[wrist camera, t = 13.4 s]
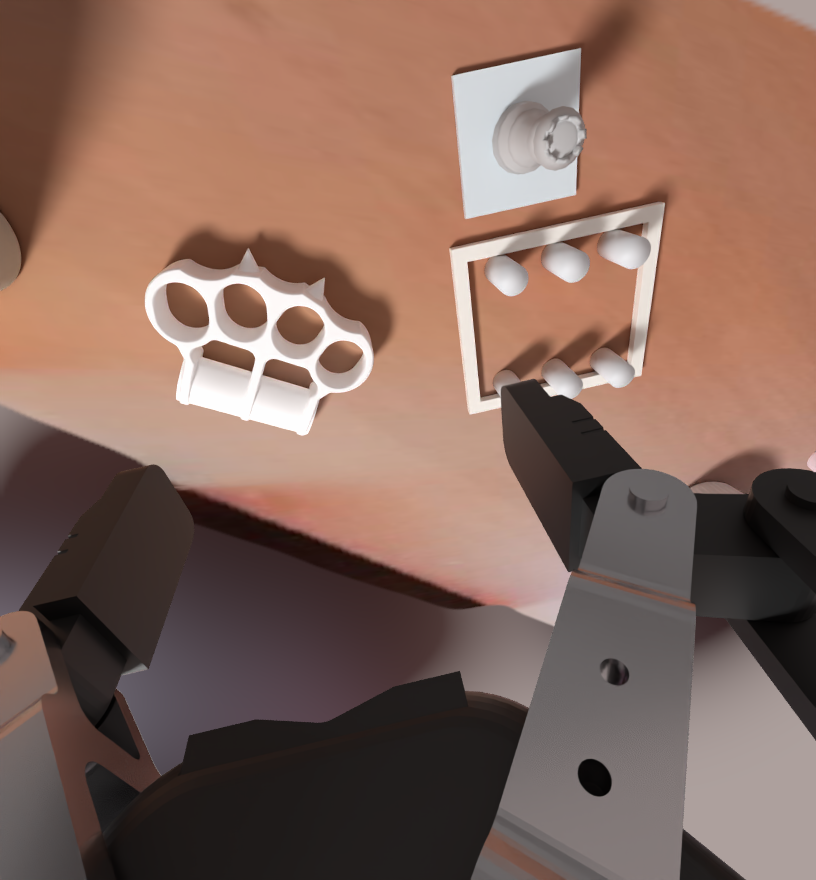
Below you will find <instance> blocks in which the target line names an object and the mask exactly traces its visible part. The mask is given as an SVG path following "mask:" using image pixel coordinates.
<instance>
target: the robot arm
mask: <svg viewBox="0 0 816 880" xmlns="http://www.w3.org/2000/svg"><path fill="white" fill-rule="evenodd" d="M501 410H502V426H503V441H504V448H505V452H506V456H507V459H508V462H509V464H510V466H511V468H512V470H513V472H514V474H515V476H516V477H517V479H518V481H519V483H520V485H521V487H522V488H523V490H524V492H525V494H526V496H527V498H528V499H529V501H530V503H531V505H532V507H533V509H534V510H535V512H536V514H537V516H538V518H539V520H540V521H541V523H542V525H543V527H544V529H545V531H546V532H547V534H548V536H549V538H550V540H551V541H552V543H553V545H554V547H555V549H556V551H557V552H558V554H559V556H560V558H561V560H562V562H563V563H564V565H565V567H566V569H567V571H568V572H571V571H572V573H571V575H570V578H569V581H568V584H567V587H566V590H565V593H564V597H563V600H562V603H561V606H560V610H559V613H558V616H557V619H556V623H555V626H554V629H553V632H552V636H551V639H550V642H549V645H548V649H547V652H546V655H545V658H544V662H543V665H542V668H541V671H540V675H539V678H538V681H537V685H536V688H535V691H534V694H533V698H532V701H531V704H530V707H529V708H528V707H526V706H524V705H522V704H520V703H518V702H515V701H513V700H510V699H507V698H504V697H501V696H498V695H494V694H488V693H483V692H473V691H465V690H464V686H463V682H462V678H461V674H460V671H458V672H454V673H450V674H445V675H441V676H437V677H433V678H428V679H424V680H420V681H416V682H412V683H407V684H403V685H399V686H395V687H392V688H391V689H389V690H387V691H385V692H383V693H381V694H379V695H377V696H376V697H374V698H372V699H370V700H368V701H366V702H364V703H362V704H361V705H359V706H357V707H355V708H353V709H351V710H349V711H347V712H346V713H344V714H342V715H340V716H338V717H336V718H334V719H332V720H330V721H328V722H323V723H311V722H292V721H274V720H252V721H248V722H244V723H240V724H235V725H231V726H227V727H223V728H219V729H214V730H210V731H206V732H202V733H198V734H193V735H190V736H189V738H188V742H187V747H186V751H185V755H184V759H183V762H182V763H181V764H179V765H177V766H176V767H174V768H173V769H171V770H170V771H168V772H166V773H165V774H163V775H162V776H161V775H160V773H159V772H158V770H157V769H156V767H155V765H154V763H153V761H152V758H151V756H150V754H149V752H148V749H147V747H146V745H145V743H144V740H143V738H142V736H141V734H140V731H139V729H138V727H137V724H136V722H135V720H134V718H133V715H132V713H131V711H130V709H129V706H128V704H127V702H126V700H125V697H124V696H123V694H122V693H121V692H120V691H119V690H117V689H116V687H117V684H118V681H119V679H120V677H121V676H122V675H126V674H130V673H134V672H139V671H143V670H147V669H149V666H150V663H151V660H152V657H153V654H154V651H155V648H156V646H157V643H158V640H159V637H160V634H161V631H162V628H163V625H164V622H165V619H166V616H167V613H168V610H169V607H170V605H171V601H172V599H173V596H174V593H175V590H176V587H177V584H178V581H179V578H180V575H181V573H182V570H183V567H184V564H185V561H186V558H187V555H188V552H189V549H190V546H191V543H192V540H193V537H194V524H193V519H192V516H191V514H190V512H189V510H188V509H187V507H186V505H185V504H184V502H183V501H182V499H181V497H180V496H179V494H178V493H177V491H176V490H175V488H174V486H173V485H172V483H171V482H170V480H169V478H168V477H167V475H166V474H165V472H164V471H163V470H162V469H161V468H160V467H159V466H157V465H149V466H144V467H140V468H135V469H131V470H127V471H122V472H119V473H118V474H116V476H115V477H114V479H113V480H112V482H111V483H110V485H109V487H108V488H107V490H106V491H105V493H104V495H103V496H102V498H101V499H100V500H98V501H97V502H96V503H95V504H94V505H93V506H92V507H91V508H90V509H89V510H87V511H86V512H85V513H84V514H83V515H82V516H81V517H80V518H79V520H78V522H77V523H76V524H75V526H74V527H73V529H72V531H71V532H70V534H69V535H68V537H69V539H66V540H65V541H64V543H63V544H62V546H61V547H60V549H59V550H58V555H56V556H54V558H53V559H52V561H51V562H50V564H49V566H48V567H47V568H46V570H45V572H44V573H43V575H42V576H41V578H40V579H39V581H38V582H37V584H36V585H35V587H34V588H33V590H32V591H31V593H30V594H29V596H28V598H27V599H26V600H25V602H24V603H23V605H22V606H21V608H20V610H19V611H17V612H12V613H8V614H6V615H4V616H0V880H745V879H744V878H743V877H742V876H740V875H739V874H738V873H737V872H736V871H734V870H733V869H732V868H731V867H729V866H728V865H727V864H726V863H725V862H723V861H722V860H721V859H720V858H718V857H717V856H716V855H715V854H714V853H712V852H711V851H710V850H709V849H707V848H706V847H705V846H704V845H702V844H701V843H700V842H699V841H697V840H696V839H695V838H694V837H692V836H691V835H690V834H689V833H688V832H686V831H685V830H684V829H683V816H684V800H685V784H686V768H687V751H688V735H689V720H690V703H691V687H692V672H693V655H694V639H695V622H696V616H704V617H717V618H725V619H726V620H727V621H728V623H729V624H730V625H731V627H732V628H733V629H734V631H735V632H736V633H737V635H738V636H739V637H740V639H741V640H742V642H743V643H744V644H745V646H746V647H747V648H748V650H749V651H750V652H751V654H752V655H753V656H754V658H755V659H756V660H757V662H758V663H759V664H760V666H761V667H762V669H763V670H764V671H765V673H766V674H767V675H768V677H769V678H770V679H771V681H772V682H773V683H774V685H775V686H776V687H777V689H778V690H779V691H780V693H781V694H782V695H783V697H784V698H785V700H786V701H787V702H788V704H789V705H790V706H791V708H792V709H793V710H794V712H795V713H796V714H797V716H798V717H799V718H800V720H801V721H802V722H803V724H804V725H805V727H806V728H807V729H808V731H809V732H810V733H811V735H812V736H813V737H814V739H815V740H816V472H813V471H809V470H802V469H791V468H787V469H774V470H770V471H767V472H764V473H762V474H760V475H759V476H758V477H756V479H755V480H754V481H753V484H752V487H751V490H750V493H749V494H703V493H693V492H692V490H691V489H690V488H689V487H688V486H687V485H686V484H685V483H683V482H682V481H681V480H679V479H677V478H675V477H673V476H671V475H669V474H666V473H663V472H660V471H655V470H649V469H642V468H641V467H640V466H639V465H638V464H637V463H636V462H635V461H634V460H633V459H632V458H631V457H630V455H629V454H628V453H627V452H626V451H625V450H624V449H623V448H622V447H621V446H620V445H619V444H618V443H617V442H616V441H615V440H614V438H613V437H612V436H611V435H610V434H609V433H608V432H607V431H606V430H605V431H604V430H603V427H602V426H601V425H600V424H599V422H598V421H597V420H596V419H593V416H592V415H591V414H590V413H589V412H588V411H587V410H586V409H585V408H584V406H583V405H582V404H581V403H578V402H576V401H574V400H572V399H570V398H568V397H566V396H564V395H557V396H553V397H550V396H549V395H548V393H547V392H546V391H545V390H544V389H543V388H542V386H541V385H540V384H539V383H538V382H537V381H536V380H535V379H531V380H527V381H522V382H518V383H513V384H509V385H505V386H502V387H501Z"/></svg>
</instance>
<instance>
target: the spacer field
mask: <svg viewBox="0 0 816 880" xmlns="http://www.w3.org/2000/svg"><path fill="white" fill-rule="evenodd" d="M664 207H665V203H663V202H656V203H651V204H647V205H642V206H638V207H633V208H629V209H624V210H620V211H615V212H610V213H606V214H601V215H597V216H592V217H588V218H583V219H579V220H574V221H570V222H565V223H561V224H556V225H552V226H547V227H543V228H538V229H534V230H529V231H525V232H520V233H515V234H511V235H506V236H502V237H497V238H493V239H488V240H484V241H479V242H475V243H470V244H466V245H461V246H457V247H452V248H449V250H450V258H451V267H452V276H453V284H454V293H455V302H456V310H457V319H458V328H459V336H460V345H461V354H462V362H463V371H464V380H465V388H466V397H467V406H468V412H469V413H470V414H475V413H479V412H483V411H488V410H492V409H497V408H501V387H502V386H505V385H509V384H513V383H518V382H521V381H520V380H519V378H518V377H517V376H516V375H515V373H514V372H513V371H511V370H502V371H500V372H499V373H497V374H496V375H495V377H494V379H493V386H494V388H495V389H496V391H497V392H498V394H494V395H490V396H485V397H481V398H480V391H479V380H478V370H477V359H476V349H475V338H474V328H473V317H472V307H471V296H470V286H469V275H468V265H467V262H470V261H475V260H479V259H484V258H488V257H490V258H489V260H488V261H487V263H486V265H485V270H484V271H485V276H486V278H487V279H488V280H489V281H490V282H491V283H492V284H493V285H495V286H496V287H497V288H498V289H499V290H500V291H501V292H502V293H503V294H505V295H507V296H515V295H518V294H519V293H521V292H522V291H523V290H524V289H525V287H526V286H527V283H528V273H527V271H526V269H525V268H524V267H522V266H521V265H520V264H518V263H517V262H515V261H514V260H512V259H511V258H509V257H508V256H506V255H504V254H506V253H511V252H515V251H520V250H524V249H529V248H533V247H538V246H542V245H547V244H548V245H547V246H546V247H545V248H544V250H543V252H542V255H541V263H542V265H543V267H544V268H545V269H547V270H548V271H550V272H552V273H553V274H555V275H557V276H558V277H560V278H561V279H563V280H565V281H567V282H570V283H573V282H577V281H579V280H581V279H582V278H583V277H584V276H585V275H586V273H587V272H588V269H589V266H590V260H589V257H588V255H587V254H586V253H585V252H583V251H581V250H578V249H576V248H574V247H572V246H570V245H567V244H565V243H563V242H560V241H565V240H569V239H574V238H578V237H583V236H587V235H592V234H596V233H601V232H604V233H603V234H602V235H601V237H600V238H599V240H598V243H597V251H598V254H599V255H600V256H601V257H603V258H605V259H607V260H610V261H612V262H614V263H616V264H619V265H621V266H623V267H625V268H628V269H636V268H638V273H637V281H636V290H635V298H634V307H633V316H632V324H631V333H630V341H629V350H628V359H627V362H626V361H625V360H624V359H622V358H621V357H620V356H618V355H617V354H616V353H614V352H613V351H612V350H611V349H609V348H600V349H598V350H596V351H595V352H594V353H593V354H592V356H591V358H590V366H591V367H592V368H593V369H594V370H595V372H591V373H586V374H582V375H578V376H577V375H576V374H575V373H574V372H573V371H572V370H571V369H570V368H569V367H568V366H567V365H566V364H565V363H564V362H563V361H562V360H560V359H551V360H549V361H548V362H546V363H545V364H544V366H543V368H542V371H541V374H542V377H543V378H544V379H545V380H546V381H547V383H542V384H540V385H541V386H542V388H543V389H544V390H545V391H546V392H547V393H548V395H549V396H554V395H564V396H566V397H568V398H570V399H572V398H574V397H576V396H577V395H578V394H579V393H580V392H581V390H582V389H584V388H589V387H593V386H597V385H602V384H606V383H610V384H611V385H612V386H613V387H616V388H621V387H624V386H626V385H628V384H629V383H630V382H631V381H632V379H633V378H634V377H637V376H641V373H642V366H643V359H644V351H645V344H646V337H647V330H648V323H649V315H650V308H651V301H652V294H653V287H654V279H655V272H656V265H657V258H658V251H659V243H660V236H661V229H662V222H663V215H664ZM641 223H643V230H642V237H641V236H638V235H635V234H632V233H629V232H626V231H622V230H619V228H623V227H628V226H632V225H637V224H641ZM605 231H606V232H605Z"/></svg>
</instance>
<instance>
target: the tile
mask: <svg viewBox="0 0 816 880" xmlns="http://www.w3.org/2000/svg"><path fill="white" fill-rule="evenodd" d="M580 66H581V48H579V49H574V50H569V51H565V52H560V53H555V54H551V55H546V56H541V57H537V58H532V59H527V60H523V61H518V62H513V63H509V64H504V65H499V66H495V67H490V68H485V69H481V70H476V71H471V72H466V73H462V74H457V75H453V76H451V79H452V90H453V100H454V111H455V122H456V132H457V143H458V154H459V164H460V175H461V186H462V197H463V207H464V218H465V219H468V218H473V217H477V216H482V215H486V214H491V213H495V212H500V211H504V210H509V209H514V208H518V207H523V206H527V205H532V204H536V203H541V202H545V201H550V200H554V199H559V198H564V197H568V196H573V195H576V177H577V157H576V159H575V160H574V161H573V162H572V163H571V164H569V165H568V166H567V167H566V168H563V169H560V170H556V171H554V170H549V169H545V168H544V167H543V166H542V165H541V166H540V167H538V168H537V169H536V170H535V171H532V172H529V173H525V174H513V173H508V172H507V171H505V170H504V169H503V168H502V167H500V166H499V164H498V162H497V160H496V158H495V157H494V155H493V146H492V138H493V133H494V128H495V125H496V123H497V122H498V120H499V118H500V116H501V115H502V113H503V112H504V111H506V110H507V109H508V108H509V107H510V106H511V105H513V104H515V103H519V102H522V101H531V102H536V103H541V104H542V105H543V106H544V107H545V108H546V109H547V110H548V111H551V110H552V109H554V108H558V107H561V106H566V107H571V108H574V109H575V110H576V111H577V112H578V113H579V94H580Z"/></svg>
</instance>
